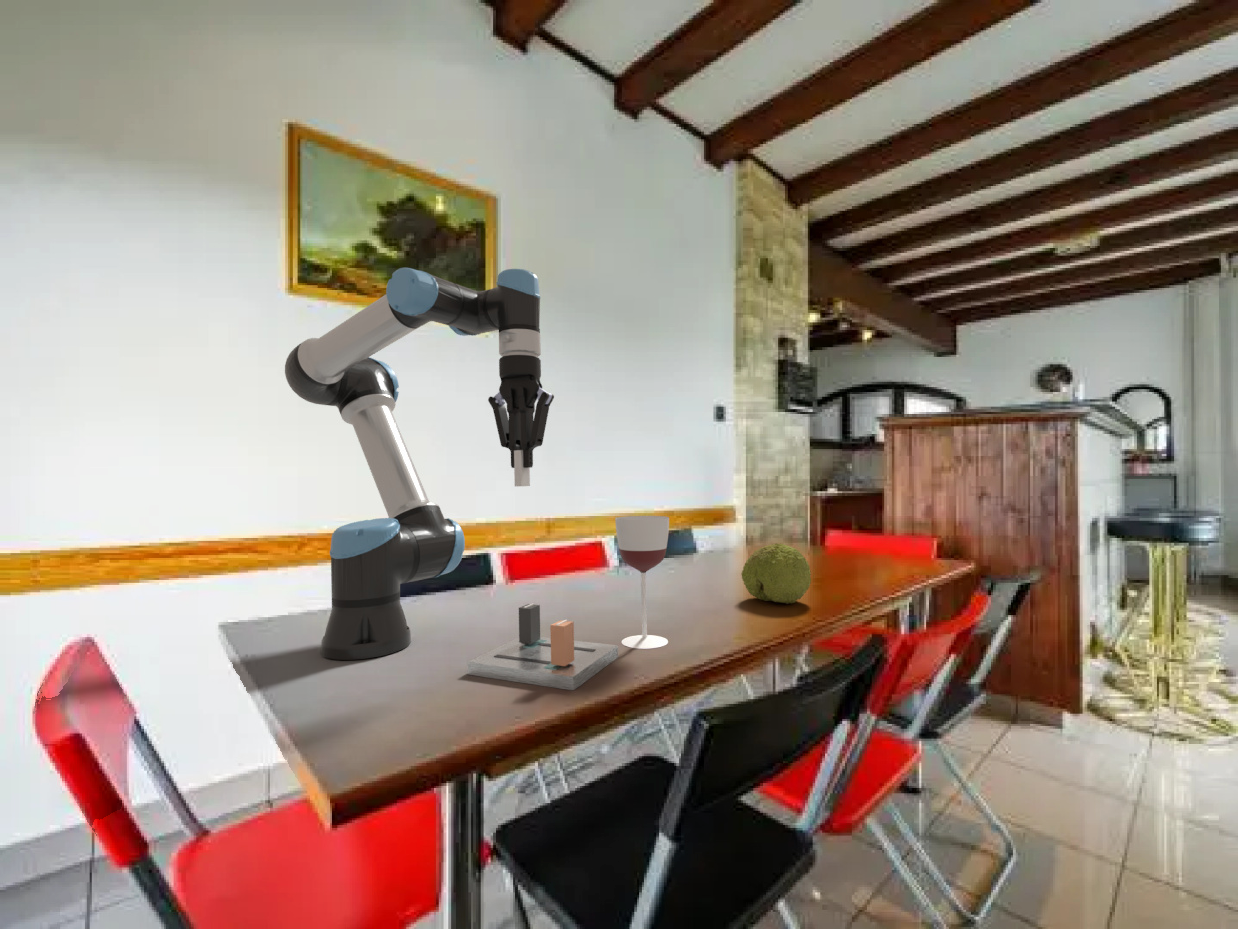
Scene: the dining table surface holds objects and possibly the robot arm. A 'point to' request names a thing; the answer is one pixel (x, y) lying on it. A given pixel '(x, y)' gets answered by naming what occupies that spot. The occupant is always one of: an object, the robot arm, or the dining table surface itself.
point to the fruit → (777, 574)
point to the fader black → (529, 623)
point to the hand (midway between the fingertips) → (522, 486)
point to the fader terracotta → (562, 642)
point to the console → (543, 663)
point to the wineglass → (643, 561)
